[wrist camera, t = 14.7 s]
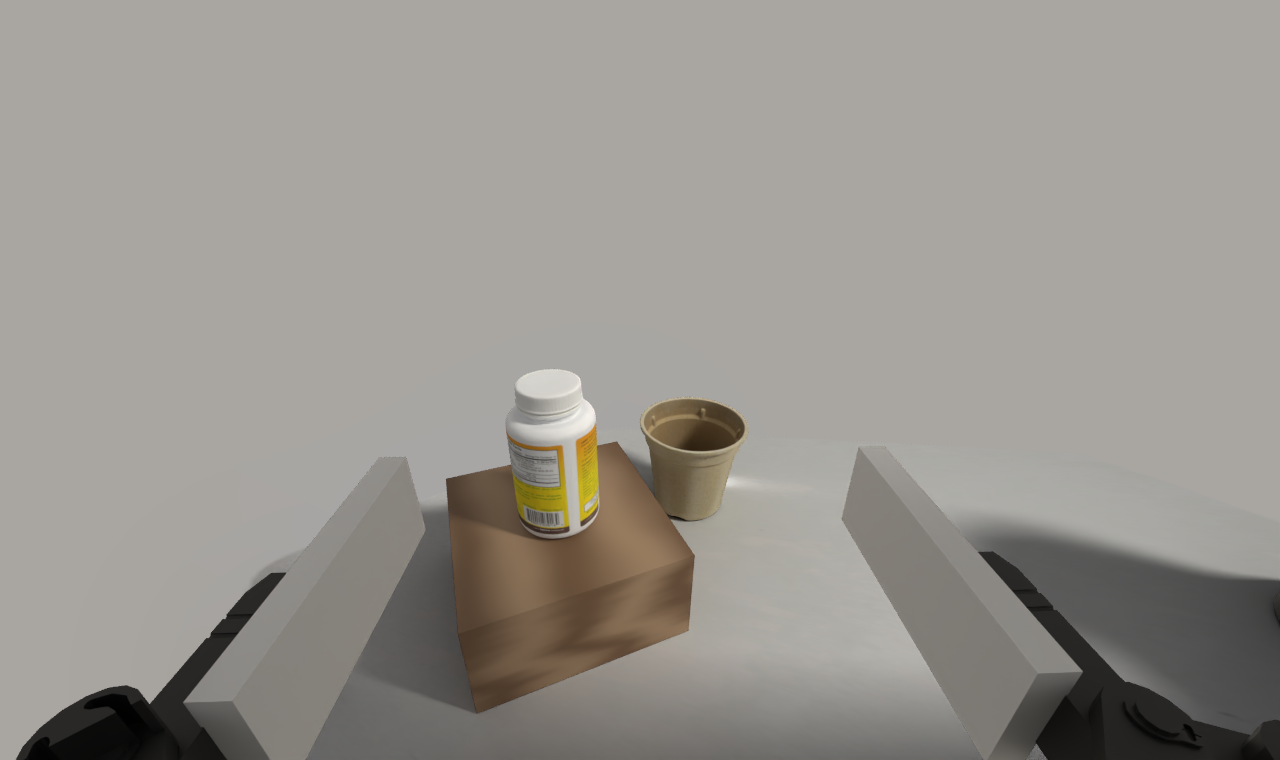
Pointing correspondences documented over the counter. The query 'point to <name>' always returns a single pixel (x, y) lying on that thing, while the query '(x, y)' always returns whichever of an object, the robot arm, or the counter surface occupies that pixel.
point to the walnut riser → (561, 582)
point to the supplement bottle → (553, 454)
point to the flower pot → (692, 453)
